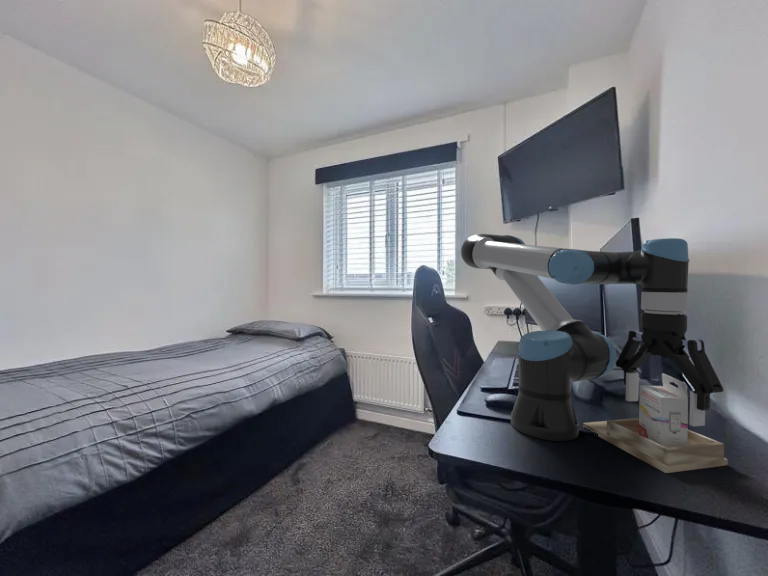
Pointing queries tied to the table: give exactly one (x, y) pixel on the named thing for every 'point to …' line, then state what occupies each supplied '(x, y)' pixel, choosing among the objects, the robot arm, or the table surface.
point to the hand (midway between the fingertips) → (661, 411)
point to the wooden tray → (661, 447)
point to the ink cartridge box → (664, 413)
